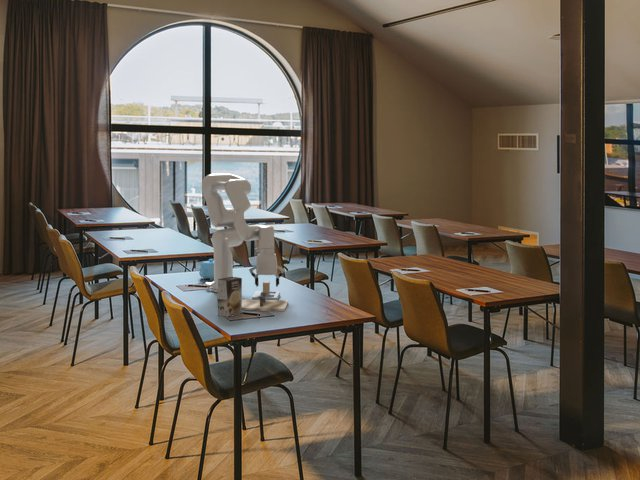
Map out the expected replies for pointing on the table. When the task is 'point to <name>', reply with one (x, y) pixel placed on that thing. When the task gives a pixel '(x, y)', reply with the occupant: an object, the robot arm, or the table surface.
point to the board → (264, 304)
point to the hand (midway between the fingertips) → (267, 286)
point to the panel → (268, 297)
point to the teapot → (207, 269)
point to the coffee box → (229, 296)
